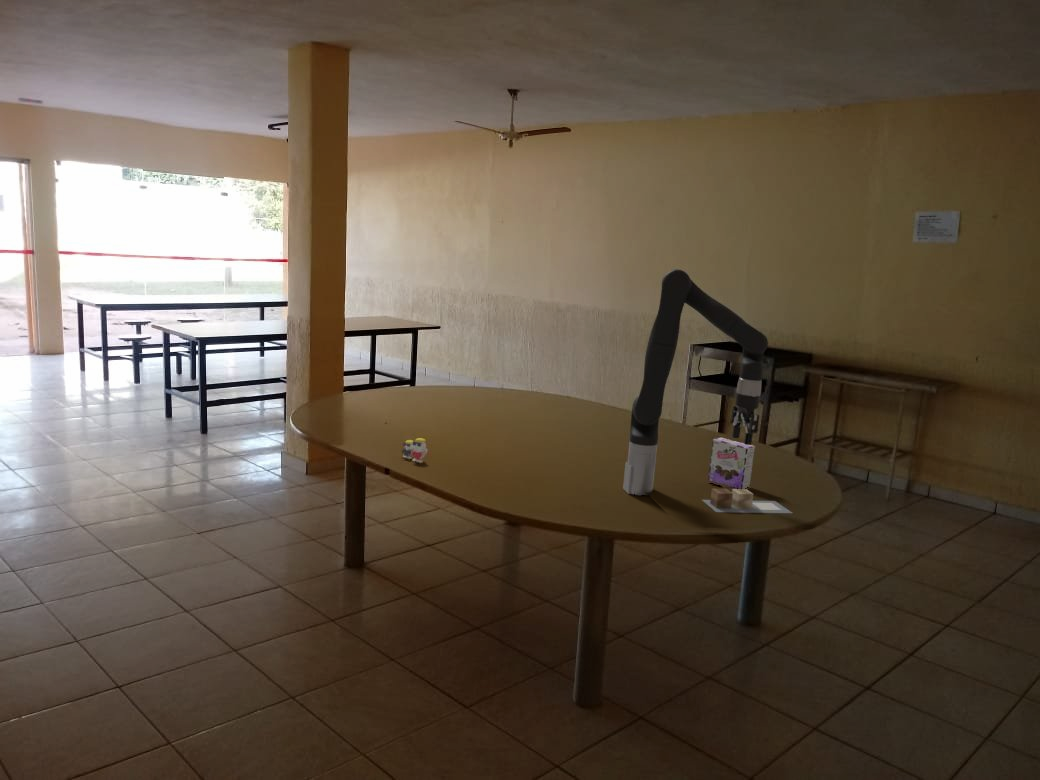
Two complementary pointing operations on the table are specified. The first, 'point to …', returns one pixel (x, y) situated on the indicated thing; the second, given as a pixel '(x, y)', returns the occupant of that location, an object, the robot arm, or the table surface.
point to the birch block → (742, 499)
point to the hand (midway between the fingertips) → (741, 441)
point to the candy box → (731, 463)
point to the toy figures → (415, 449)
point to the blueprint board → (754, 507)
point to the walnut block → (721, 498)
